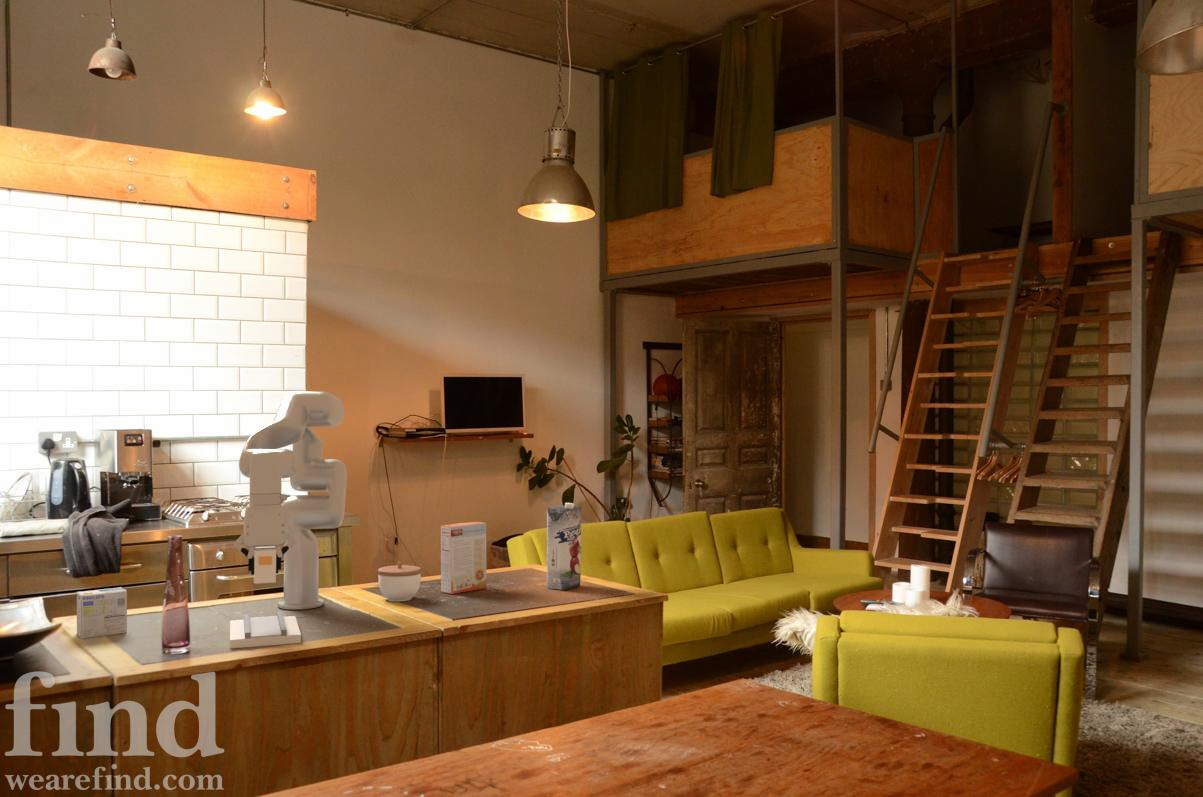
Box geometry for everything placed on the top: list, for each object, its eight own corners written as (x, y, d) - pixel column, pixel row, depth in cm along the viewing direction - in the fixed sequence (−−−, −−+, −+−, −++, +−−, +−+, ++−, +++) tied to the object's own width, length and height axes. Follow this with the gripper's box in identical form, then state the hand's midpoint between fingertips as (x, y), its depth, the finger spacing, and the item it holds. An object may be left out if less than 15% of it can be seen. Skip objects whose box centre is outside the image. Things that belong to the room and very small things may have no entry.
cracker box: (475, 586, 305) (475, 520, 306) (487, 588, 301) (487, 522, 301) (439, 592, 295) (439, 524, 296) (451, 594, 291) (451, 526, 291)
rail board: (229, 628, 246) (230, 615, 246) (295, 623, 251) (295, 610, 252) (229, 648, 225) (230, 634, 225) (300, 642, 231) (300, 628, 231)
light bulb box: (121, 628, 245) (122, 586, 246) (128, 633, 240) (128, 590, 240) (75, 634, 239) (75, 591, 239) (80, 639, 234) (80, 595, 234)
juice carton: (542, 588, 302) (543, 503, 302) (561, 583, 311) (561, 500, 311) (566, 591, 297) (566, 504, 297) (584, 586, 306) (584, 502, 306)
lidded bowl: (414, 593, 293) (415, 557, 293) (425, 601, 281) (426, 563, 281) (373, 597, 287) (373, 560, 287) (382, 605, 276) (383, 566, 276)
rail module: (253, 578, 241) (253, 547, 241) (274, 577, 242) (274, 546, 243) (254, 583, 234) (254, 551, 234) (275, 582, 236) (276, 550, 236)
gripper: (300, 498, 245) (299, 569, 245) (228, 500, 239) (228, 573, 239) (302, 500, 238) (301, 573, 238) (228, 502, 232) (228, 577, 232)
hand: (264, 572), depth 238 cm, fingers closed on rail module, 5 cm apart
